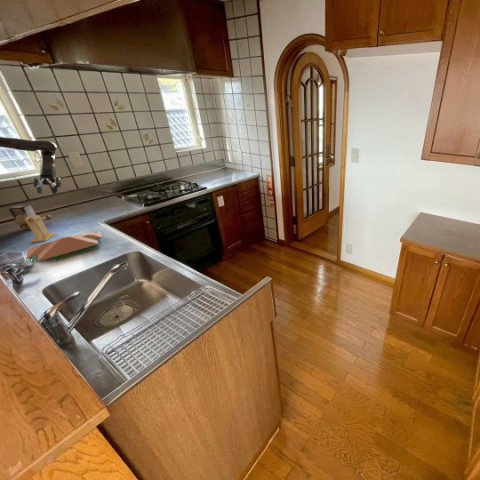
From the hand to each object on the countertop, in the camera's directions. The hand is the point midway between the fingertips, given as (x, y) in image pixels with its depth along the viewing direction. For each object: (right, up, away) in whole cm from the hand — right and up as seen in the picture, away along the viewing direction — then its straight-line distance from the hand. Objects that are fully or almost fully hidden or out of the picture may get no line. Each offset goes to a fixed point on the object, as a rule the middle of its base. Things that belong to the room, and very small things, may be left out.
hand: (47, 193), depth 177 cm
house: (+39, -38, -25) cm, 60 cm away
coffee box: (-18, -24, +7) cm, 30 cm away
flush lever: (+6, -20, -9) cm, 23 cm away
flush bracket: (+8, -31, -9) cm, 33 cm away
